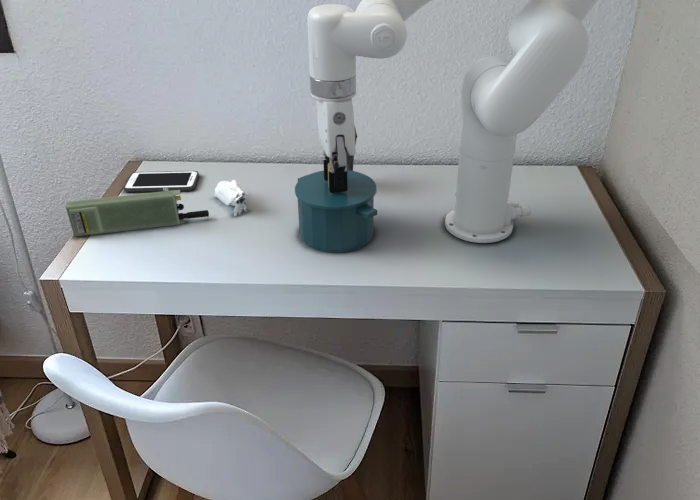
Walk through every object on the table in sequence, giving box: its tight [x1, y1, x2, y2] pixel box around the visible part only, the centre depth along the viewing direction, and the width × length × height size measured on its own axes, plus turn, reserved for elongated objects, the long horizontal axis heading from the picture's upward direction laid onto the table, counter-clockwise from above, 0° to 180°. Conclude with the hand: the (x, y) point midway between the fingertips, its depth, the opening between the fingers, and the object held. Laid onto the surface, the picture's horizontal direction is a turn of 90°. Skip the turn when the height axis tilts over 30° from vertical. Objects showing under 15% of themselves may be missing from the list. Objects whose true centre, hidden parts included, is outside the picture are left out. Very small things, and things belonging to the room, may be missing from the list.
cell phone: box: [123, 170, 200, 193], centre depth 140 cm, size 8×15×1 cm, turn 92°
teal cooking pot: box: [297, 174, 378, 254], centre depth 120 cm, size 14×19×9 cm
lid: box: [294, 161, 377, 210], centre depth 116 cm, size 15×15×6 cm
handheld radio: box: [65, 190, 210, 237], centre depth 124 cm, size 7×3×25 cm
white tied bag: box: [213, 179, 248, 217], centre depth 131 cm, size 5×7×10 cm
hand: (335, 184), depth 117 cm, fingers open, 4 cm apart
